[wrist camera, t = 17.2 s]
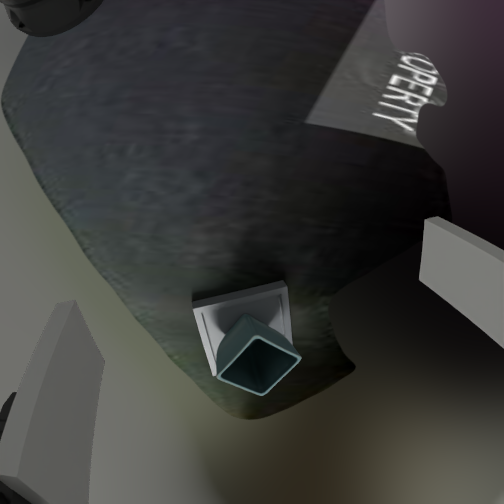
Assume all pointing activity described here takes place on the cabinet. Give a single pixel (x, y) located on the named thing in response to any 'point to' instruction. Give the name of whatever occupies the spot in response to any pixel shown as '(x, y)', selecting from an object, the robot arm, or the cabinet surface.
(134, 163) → the cabinet surface
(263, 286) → the plant tray
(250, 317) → the flower pot
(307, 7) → the cabinet surface
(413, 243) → the cabinet surface
